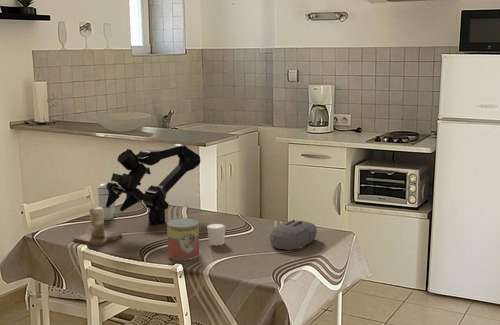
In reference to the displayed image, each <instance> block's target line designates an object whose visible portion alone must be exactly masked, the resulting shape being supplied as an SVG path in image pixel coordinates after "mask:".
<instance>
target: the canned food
mask: <svg viewBox="0 0 500 325" xmlns="http://www.w3.org/2000/svg"><path fill="white" fill-rule="evenodd" d="M199 223H200V222H199V220H197V219H195V218H188V217H185V218H183V217H181V218H174V219H171V220H169V221H166V227H167V229H166V230H167V231H166V232H167V257H168V258H170V259H171V258H172V259H171V260H174V259H176V261H185V260H184V259H189V258H194V257H196V256H198V255H199V256H200V254H199V253H200V236H199V235H200V234H199V233H200V229H199V225H200V224H199ZM199 256H198V257H199ZM196 258H197V257H196ZM194 259H195V258H194Z"/></svg>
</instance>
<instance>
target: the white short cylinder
mask: <svg viewBox="0 0 500 325" xmlns="http://www.w3.org/2000/svg"><path fill="white" fill-rule="evenodd" d="M206 228H207V236H208V237H207V238H208V244H209V246H212V245H221V246H223V245H224V244H225V239H226V238H225V235H226V224H223V223H210V224H208V225H207V226H206ZM222 244H223V245H222Z"/></svg>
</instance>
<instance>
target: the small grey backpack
mask: <svg viewBox="0 0 500 325" xmlns="http://www.w3.org/2000/svg"><path fill="white" fill-rule="evenodd" d="M317 233H318V231H317V227H316V225H315V223H312V222H310V221H304V220H296V219H292V220H290V221H287V222H283V223H279V224H278V225H277V226H275V227H274V229H273V230H272V231H271V232H270V235H269V240H270V245H271V246H272V247H273V248H274V249H277V248H278V249H277V250H280V249H284V250H283V251H294V250H293V249H297V250H299V249H301V248H300V247H303V246H305V245H307V244H308V245H310V244H311V243H312V242H313V241H314V240H315V239H316V237H317ZM309 243H310V244H309ZM308 245H307V246H308ZM305 247H306V246H305ZM298 248H299V249H298ZM303 248H304V247H303ZM285 249H286V250H285Z"/></svg>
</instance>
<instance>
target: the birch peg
mask: <svg viewBox="0 0 500 325" xmlns="http://www.w3.org/2000/svg"><path fill="white" fill-rule="evenodd" d="M89 219H90V232H91V236H92V238H102V237H104V236H105V232H104V231H105V222H104V221H105V219H104V216H103V208H102V207H99V206H94V207H90V208H89Z"/></svg>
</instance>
